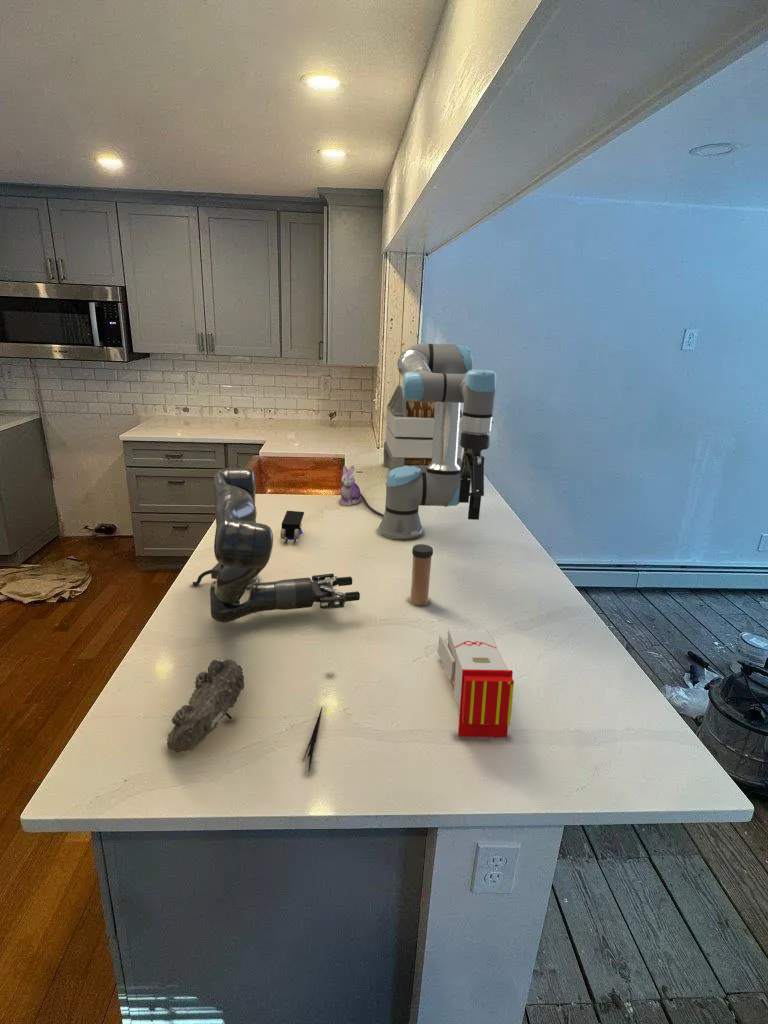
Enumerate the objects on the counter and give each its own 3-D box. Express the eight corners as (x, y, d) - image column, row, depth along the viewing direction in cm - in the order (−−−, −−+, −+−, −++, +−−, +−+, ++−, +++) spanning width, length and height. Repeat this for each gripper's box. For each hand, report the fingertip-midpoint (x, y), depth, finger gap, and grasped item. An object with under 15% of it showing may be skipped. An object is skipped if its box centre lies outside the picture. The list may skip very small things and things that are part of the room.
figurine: (344, 507, 223) (345, 470, 218) (334, 499, 232) (334, 463, 227) (366, 504, 228) (367, 468, 223) (355, 496, 236) (356, 461, 231)
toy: (488, 613, 130) (523, 677, 101) (484, 667, 133) (517, 744, 104) (435, 612, 130) (455, 676, 101) (432, 666, 133) (451, 743, 103)
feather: (331, 679, 122) (336, 673, 122) (307, 777, 96) (313, 769, 95) (324, 675, 122) (329, 669, 121) (298, 772, 95) (304, 764, 95)
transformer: (382, 463, 289) (386, 382, 275) (445, 464, 293) (451, 384, 279) (390, 482, 257) (394, 392, 243) (460, 483, 261) (468, 394, 247)
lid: (422, 548, 153) (422, 542, 153) (436, 554, 150) (437, 549, 149) (407, 553, 150) (408, 547, 149) (422, 560, 146) (423, 554, 146)
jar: (418, 595, 158) (422, 544, 153) (431, 602, 154) (435, 550, 149) (406, 600, 155) (409, 548, 149) (419, 607, 151) (422, 555, 146)
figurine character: (300, 550, 186) (305, 528, 199) (299, 529, 183) (304, 509, 196) (279, 549, 186) (286, 528, 199) (278, 529, 182) (285, 508, 196)
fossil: (192, 660, 117) (244, 628, 112) (224, 691, 120) (276, 661, 115) (142, 746, 98) (202, 712, 93) (182, 779, 101) (242, 748, 96)
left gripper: (296, 593, 135) (362, 587, 139) (289, 568, 148) (349, 563, 152) (297, 621, 137) (361, 614, 142) (289, 594, 150) (349, 588, 155)
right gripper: (502, 443, 134) (492, 527, 141) (479, 423, 157) (472, 496, 164) (471, 442, 133) (462, 526, 140) (453, 422, 157) (447, 495, 164)
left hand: (355, 587), depth 147 cm, fingers open, 8 cm apart
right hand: (468, 510), depth 152 cm, fingers open, 13 cm apart
